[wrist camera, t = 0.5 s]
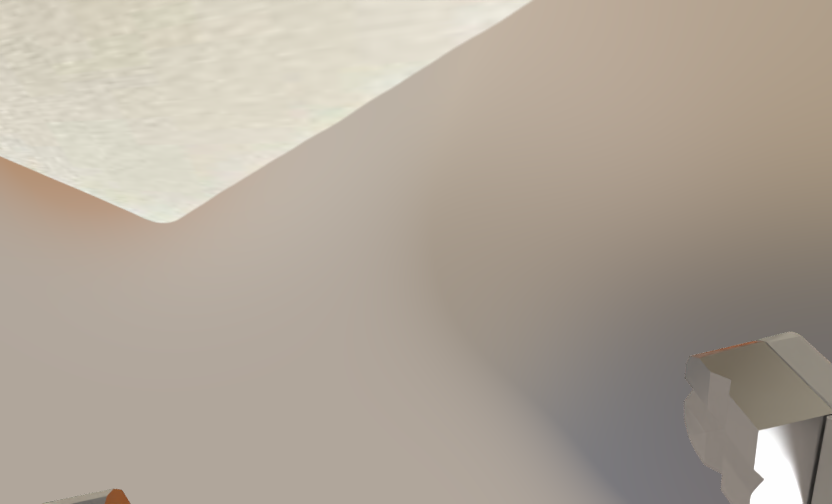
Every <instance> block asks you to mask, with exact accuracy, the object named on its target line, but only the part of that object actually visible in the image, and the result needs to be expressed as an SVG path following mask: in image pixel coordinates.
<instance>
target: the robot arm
mask: <svg viewBox="0 0 832 504" xmlns="http://www.w3.org/2000/svg"><path fill="white" fill-rule="evenodd" d="M685 379H686V380H687V381H688V383H689V384H690V385H691V387H692V388H693V390H692V391H691V393H690V394H689V395H688V397H687V398H686V399H685V401H684V420H685V424H686V429H687V433H688V437H689V439H690V441H691V443H692V445H693V447H694V450H695V452H696V453H697V455H698V456H699V458H700V459H701V461H702V462H703V464H704V465H705V466H707V467H709V468H711V469H713V470H715V471H717V472H719V473H721V474H722V481H721V490H722V492H723V493H724V495H725V496H726V498H727V499H728V501H729V502H730V503H731V504H832V364H831V363H830V362H829V361H828V360H827V359H826V358H824V356H823V355H821V354H820V353H819V352H818V351H817V350H816V349H815V348H814V347H813V346H812V345H811V344H809V343H808V342H807V341H806V340H805V339H804V338H803V337H802V336H801V335H799V334H797V333H794V332H791V331H790V332H786V333H783V334H778V335H775V336H770V337H766V338H762V339H758V340H756V341H751V342H747V343H743V344H738V345H734V346H730V347H726V348H721V349H717V350H713V351H709V352H705V353H701V354H696V355H692V356H689V359H688V360H687V363H686V369H685ZM43 504H130V502H129V501H128V499H127V497H126V496H125V494H124V492H123V491H122V490H120V489H110V490H105V491H100V492H95V493H91V494H85V495H81V496H75V497H71V498H66V499H61V500H56V501H51V502H46V503H43Z"/></svg>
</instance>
